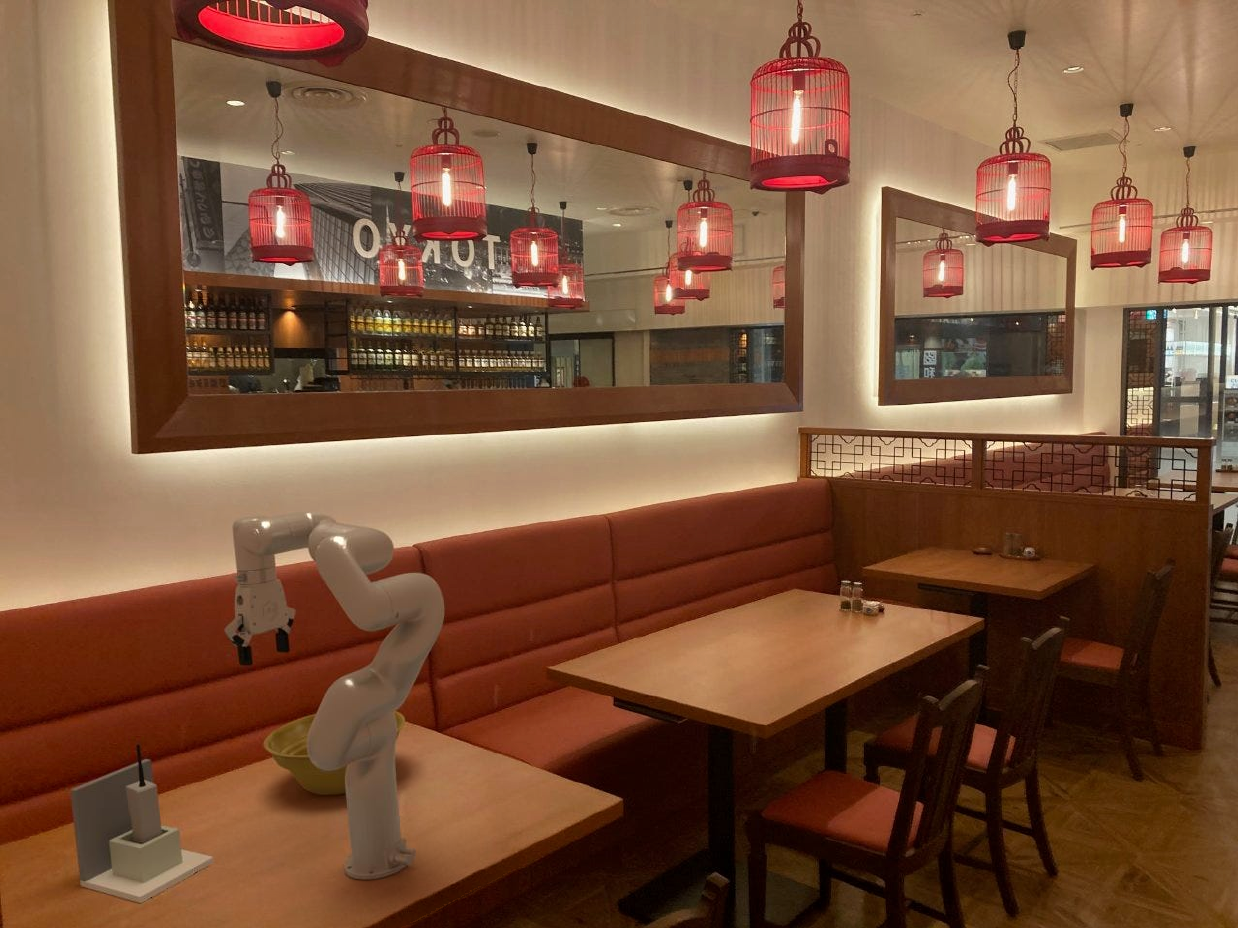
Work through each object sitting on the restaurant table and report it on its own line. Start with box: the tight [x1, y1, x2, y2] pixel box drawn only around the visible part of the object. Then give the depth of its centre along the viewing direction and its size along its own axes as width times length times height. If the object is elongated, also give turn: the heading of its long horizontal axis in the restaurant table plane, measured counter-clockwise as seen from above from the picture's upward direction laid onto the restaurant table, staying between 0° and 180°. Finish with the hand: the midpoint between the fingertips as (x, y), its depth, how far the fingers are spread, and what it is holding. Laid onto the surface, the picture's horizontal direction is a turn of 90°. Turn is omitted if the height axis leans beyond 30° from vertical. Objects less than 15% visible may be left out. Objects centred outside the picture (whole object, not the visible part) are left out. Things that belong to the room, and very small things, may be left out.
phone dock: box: [69, 758, 215, 904], centre depth 182 cm, size 18×16×19 cm
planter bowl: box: [263, 710, 406, 796], centre depth 222 cm, size 32×32×13 cm
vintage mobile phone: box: [126, 743, 162, 844], centre depth 182 cm, size 4×5×25 cm
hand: (265, 658), depth 193 cm, fingers open, 9 cm apart
